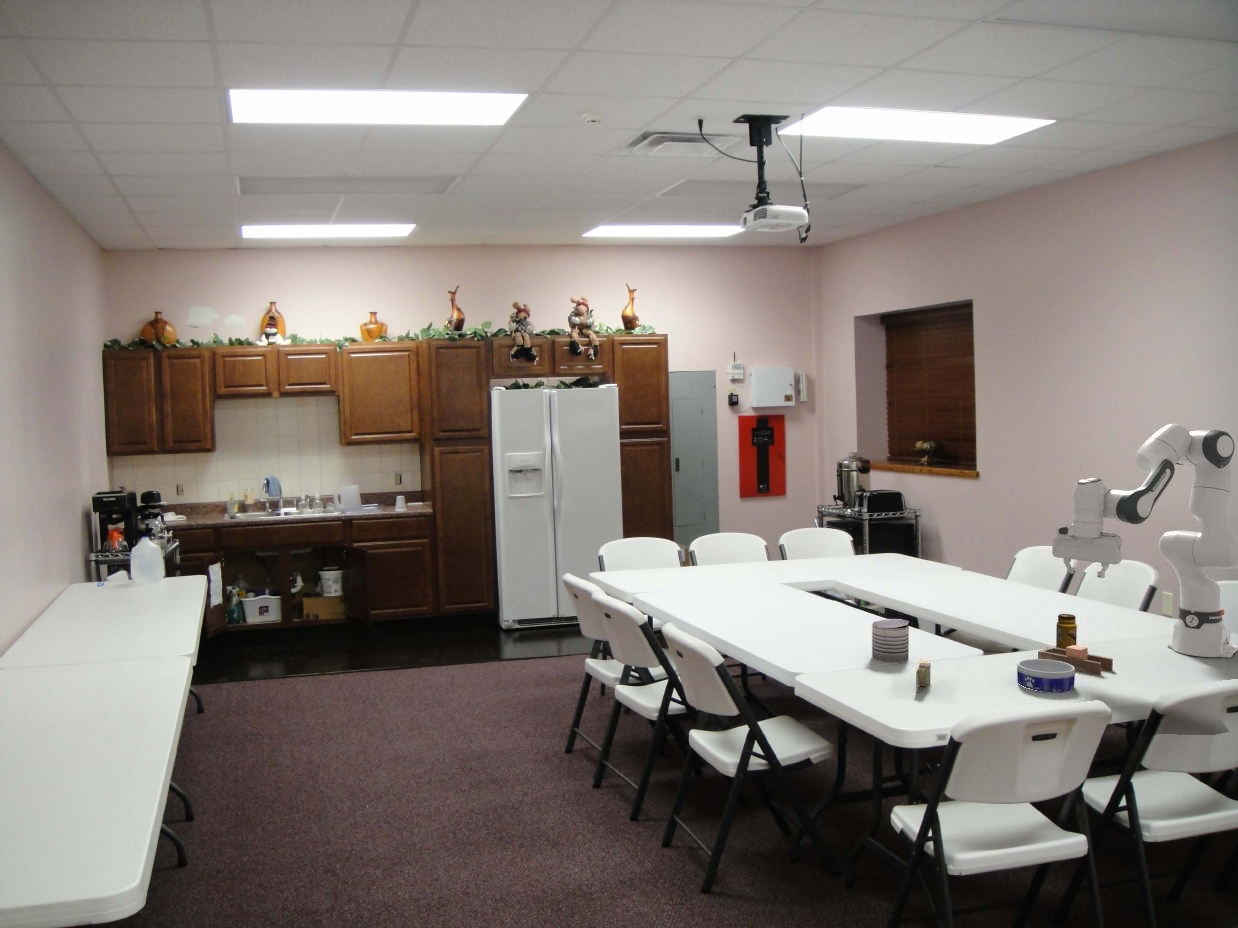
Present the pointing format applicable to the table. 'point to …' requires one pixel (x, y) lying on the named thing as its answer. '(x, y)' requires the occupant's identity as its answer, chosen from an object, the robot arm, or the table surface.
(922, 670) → the model
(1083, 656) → the block
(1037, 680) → the dog bowl
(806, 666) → the table surface
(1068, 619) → the condiment
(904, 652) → the can
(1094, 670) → the channel
